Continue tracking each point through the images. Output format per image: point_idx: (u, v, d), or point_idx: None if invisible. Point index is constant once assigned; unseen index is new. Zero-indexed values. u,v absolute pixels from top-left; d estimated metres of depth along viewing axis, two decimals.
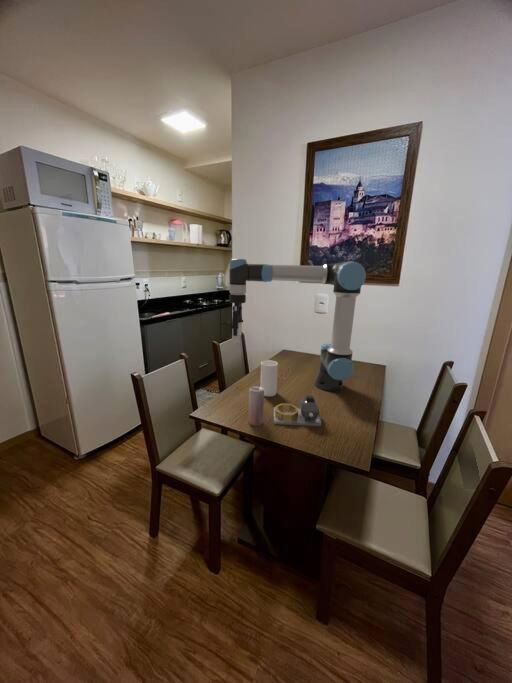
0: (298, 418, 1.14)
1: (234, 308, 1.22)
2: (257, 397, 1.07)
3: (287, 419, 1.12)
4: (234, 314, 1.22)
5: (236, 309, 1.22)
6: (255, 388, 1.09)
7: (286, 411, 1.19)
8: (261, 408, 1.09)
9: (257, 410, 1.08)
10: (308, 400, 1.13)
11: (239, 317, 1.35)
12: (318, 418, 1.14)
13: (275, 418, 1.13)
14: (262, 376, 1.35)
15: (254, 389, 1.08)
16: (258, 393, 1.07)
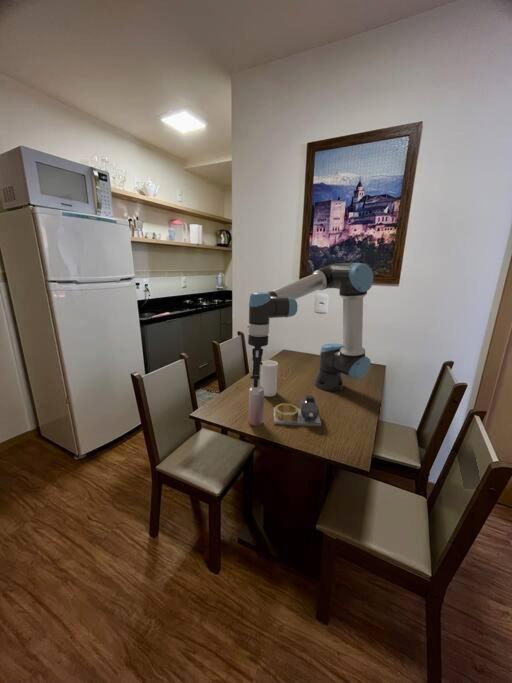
0: (298, 418, 1.14)
1: (255, 354, 0.98)
2: (257, 397, 1.07)
3: (287, 419, 1.12)
4: (255, 361, 0.98)
5: (258, 355, 0.98)
6: None
7: (286, 411, 1.19)
8: (261, 408, 1.09)
9: (257, 410, 1.08)
10: (308, 400, 1.13)
11: None
12: (318, 418, 1.14)
13: (275, 418, 1.13)
14: (262, 376, 1.35)
15: None
16: None
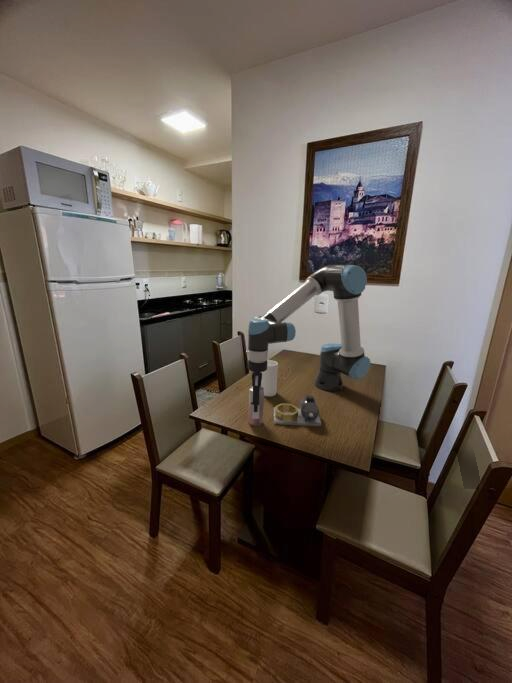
0: (298, 418, 1.14)
1: (254, 384, 1.01)
2: None
3: (287, 419, 1.12)
4: (255, 390, 1.02)
5: (257, 385, 1.02)
6: None
7: (286, 411, 1.19)
8: (261, 408, 1.09)
9: None
10: (308, 400, 1.13)
11: None
12: (318, 418, 1.14)
13: (275, 418, 1.13)
14: (262, 376, 1.35)
15: None
16: None
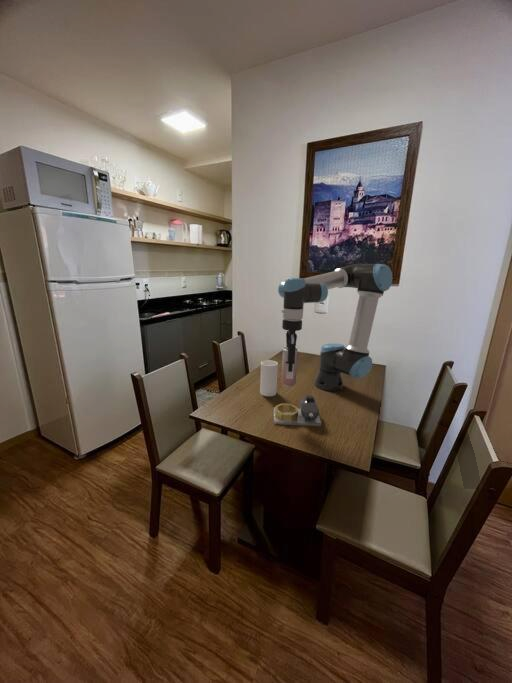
0: (298, 418, 1.14)
1: (291, 341, 1.02)
2: None
3: (287, 419, 1.12)
4: (291, 348, 1.03)
5: (293, 342, 1.02)
6: None
7: (286, 411, 1.19)
8: (295, 368, 1.09)
9: None
10: (308, 400, 1.13)
11: None
12: (318, 418, 1.14)
13: (275, 418, 1.13)
14: (262, 376, 1.35)
15: None
16: None
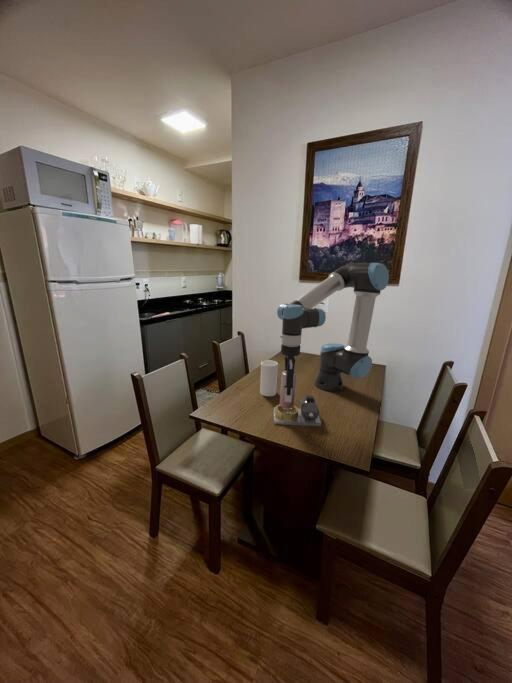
0: (298, 418, 1.14)
1: (289, 367, 1.04)
2: None
3: (287, 419, 1.12)
4: (289, 373, 1.05)
5: (291, 368, 1.05)
6: None
7: (286, 411, 1.19)
8: (293, 392, 1.12)
9: None
10: (308, 400, 1.13)
11: None
12: (318, 418, 1.14)
13: (275, 418, 1.13)
14: (262, 376, 1.35)
15: None
16: None
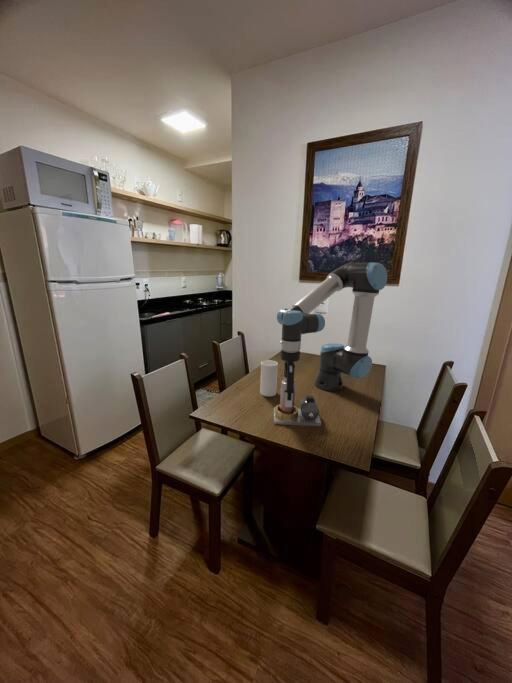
0: (298, 418, 1.14)
1: (289, 369, 1.04)
2: None
3: (287, 419, 1.12)
4: (289, 376, 1.04)
5: (291, 370, 1.04)
6: None
7: None
8: (293, 400, 1.13)
9: None
10: (308, 400, 1.13)
11: None
12: (318, 418, 1.14)
13: (275, 418, 1.13)
14: (262, 376, 1.35)
15: (286, 382, 1.12)
16: None
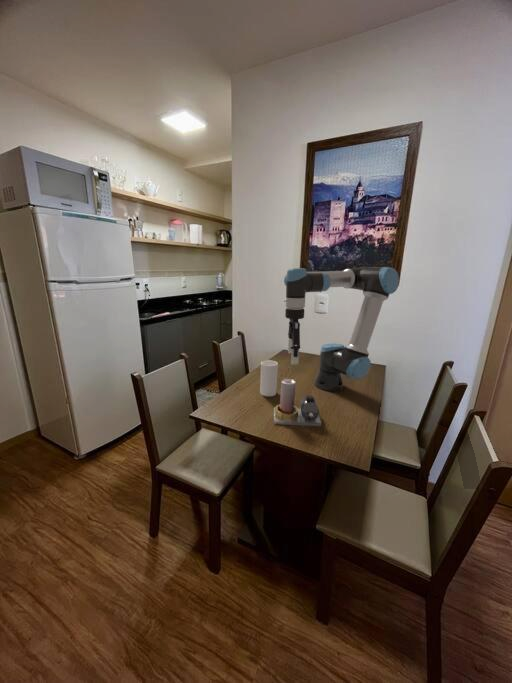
0: (298, 418, 1.14)
1: (295, 325, 1.05)
2: (290, 389, 1.11)
3: (287, 419, 1.12)
4: (295, 332, 1.05)
5: (297, 326, 1.05)
6: (287, 381, 1.13)
7: None
8: (293, 400, 1.13)
9: (289, 402, 1.12)
10: (308, 400, 1.13)
11: None
12: (318, 418, 1.14)
13: (275, 418, 1.13)
14: (262, 376, 1.35)
15: (286, 382, 1.12)
16: (290, 386, 1.10)
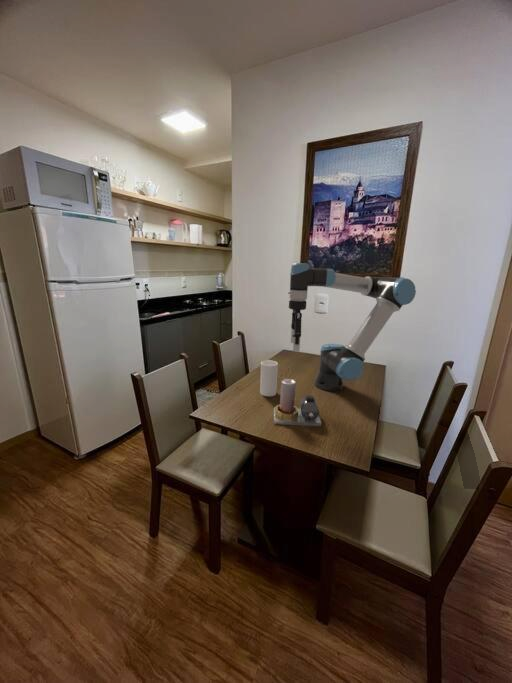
0: (298, 418, 1.14)
1: (297, 315, 1.15)
2: (290, 389, 1.11)
3: (287, 419, 1.12)
4: (297, 321, 1.15)
5: (299, 316, 1.15)
6: (287, 381, 1.13)
7: None
8: (293, 400, 1.13)
9: (289, 402, 1.12)
10: (308, 400, 1.13)
11: None
12: (318, 418, 1.14)
13: (275, 418, 1.13)
14: (262, 376, 1.35)
15: (286, 382, 1.12)
16: (291, 386, 1.11)
